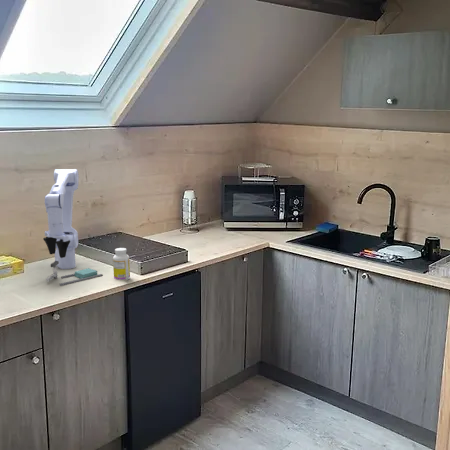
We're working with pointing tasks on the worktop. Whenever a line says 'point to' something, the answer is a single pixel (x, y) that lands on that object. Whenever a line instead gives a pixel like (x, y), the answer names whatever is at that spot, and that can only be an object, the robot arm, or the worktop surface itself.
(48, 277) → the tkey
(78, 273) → the cover
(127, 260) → the supplement bottle
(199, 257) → the worktop surface
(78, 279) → the channel
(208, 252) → the worktop surface
